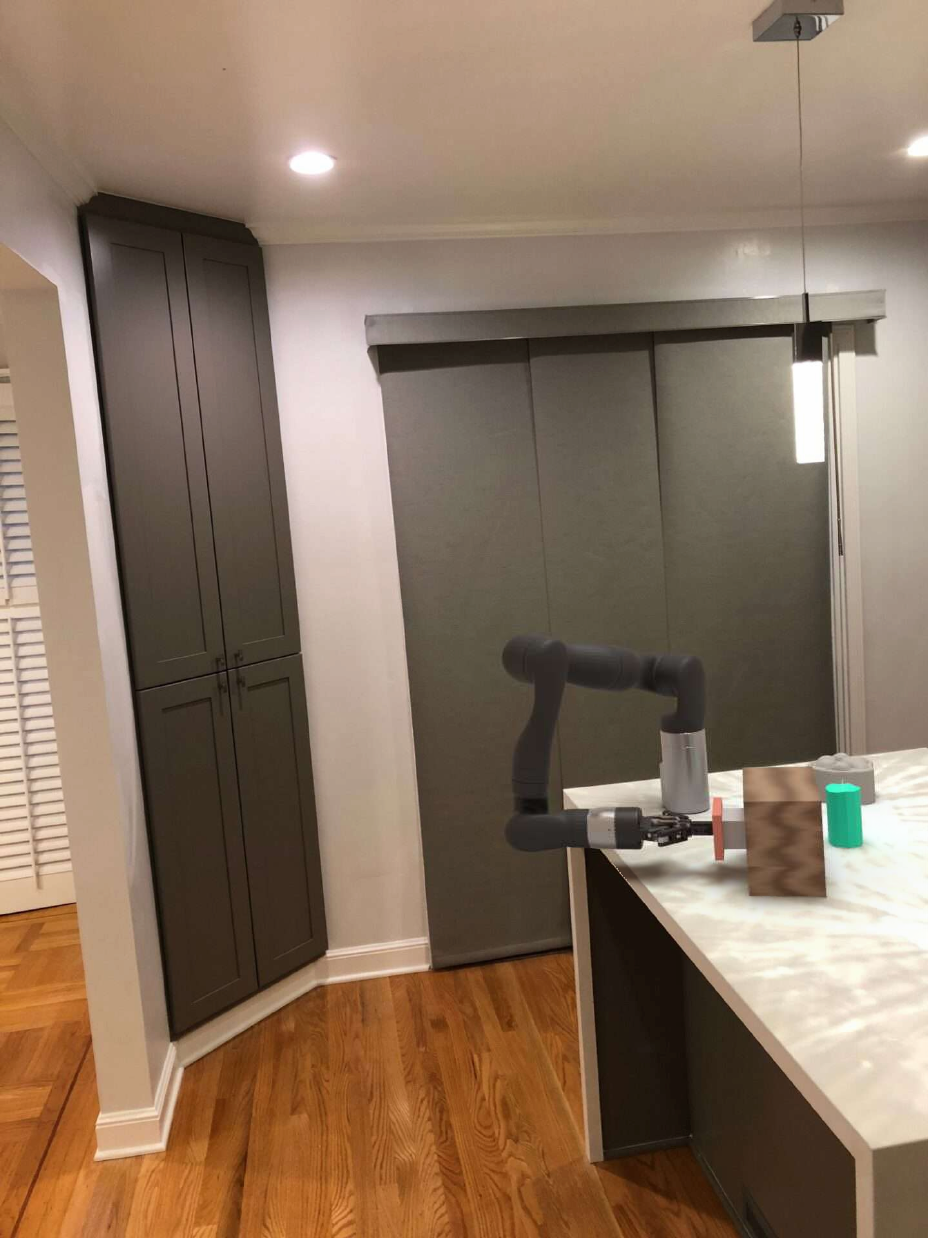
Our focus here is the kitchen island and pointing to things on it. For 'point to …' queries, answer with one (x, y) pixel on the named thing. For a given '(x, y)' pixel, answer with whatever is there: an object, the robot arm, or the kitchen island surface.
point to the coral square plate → (727, 828)
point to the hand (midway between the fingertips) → (714, 828)
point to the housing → (783, 832)
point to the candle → (844, 815)
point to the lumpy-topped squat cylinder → (845, 774)
